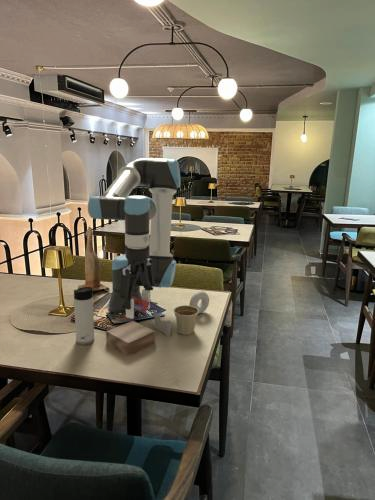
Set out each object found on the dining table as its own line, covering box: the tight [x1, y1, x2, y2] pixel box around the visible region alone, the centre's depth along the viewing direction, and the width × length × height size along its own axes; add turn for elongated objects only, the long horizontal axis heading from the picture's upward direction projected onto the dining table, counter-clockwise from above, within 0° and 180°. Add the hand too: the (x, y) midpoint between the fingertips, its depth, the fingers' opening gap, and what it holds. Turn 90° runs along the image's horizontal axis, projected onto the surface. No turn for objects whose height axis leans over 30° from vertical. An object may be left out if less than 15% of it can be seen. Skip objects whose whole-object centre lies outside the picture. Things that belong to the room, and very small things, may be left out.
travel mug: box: [73, 287, 95, 346], centre depth 128 cm, size 6×7×20 cm
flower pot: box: [173, 305, 199, 336], centre depth 139 cm, size 9×9×9 cm
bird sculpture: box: [77, 226, 110, 292], centre depth 175 cm, size 11×12×32 cm
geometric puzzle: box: [132, 292, 151, 317], centre depth 121 cm, size 7×7×8 cm
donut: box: [188, 290, 210, 315], centre depth 155 cm, size 10×4×10 cm, turn 129°
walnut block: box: [105, 320, 156, 357], centre depth 130 cm, size 12×12×5 cm
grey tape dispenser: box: [153, 313, 172, 337], centre depth 140 cm, size 6×1×10 cm
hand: (138, 312), depth 121 cm, fingers closed on geometric puzzle, 8 cm apart
